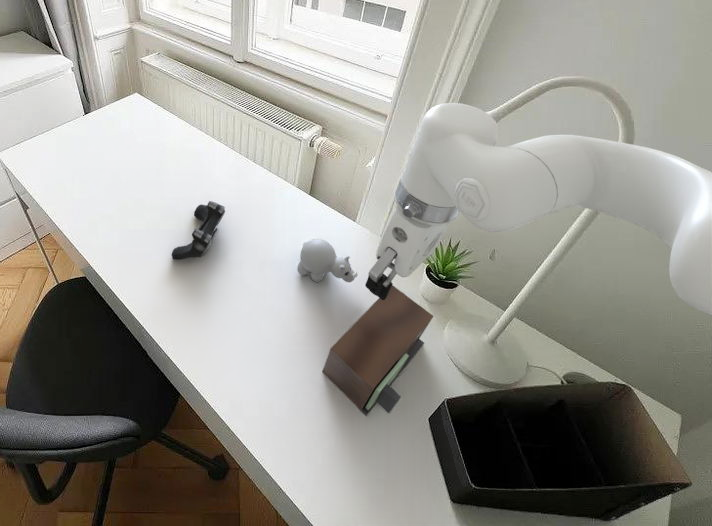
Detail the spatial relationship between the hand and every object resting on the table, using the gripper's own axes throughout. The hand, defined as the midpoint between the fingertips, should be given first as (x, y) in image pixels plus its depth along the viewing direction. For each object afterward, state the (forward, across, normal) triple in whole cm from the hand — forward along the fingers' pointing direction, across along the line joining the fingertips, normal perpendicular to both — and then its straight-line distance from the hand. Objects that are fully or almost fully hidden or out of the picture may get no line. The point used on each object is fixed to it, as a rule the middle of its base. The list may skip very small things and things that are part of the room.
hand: (393, 274), depth 62 cm
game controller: (+22, -9, +38) cm, 45 cm away
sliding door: (+20, -6, -8) cm, 23 cm away
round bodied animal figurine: (+22, +6, +14) cm, 26 cm away
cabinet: (+21, -1, -2) cm, 22 cm away
